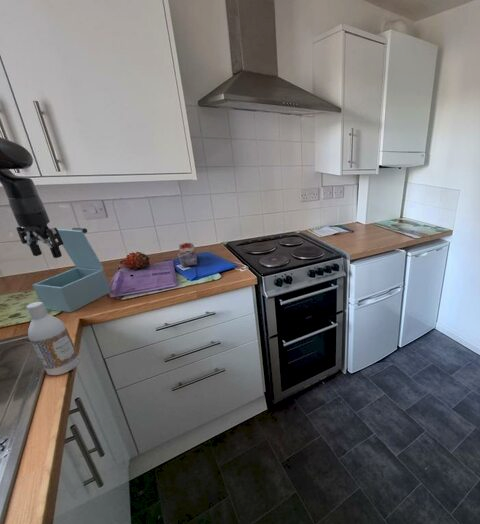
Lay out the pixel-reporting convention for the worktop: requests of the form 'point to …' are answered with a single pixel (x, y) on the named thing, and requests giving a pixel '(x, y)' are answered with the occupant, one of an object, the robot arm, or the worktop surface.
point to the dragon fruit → (135, 260)
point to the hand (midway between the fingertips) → (48, 256)
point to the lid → (79, 248)
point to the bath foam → (51, 341)
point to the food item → (187, 254)
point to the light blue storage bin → (72, 289)
